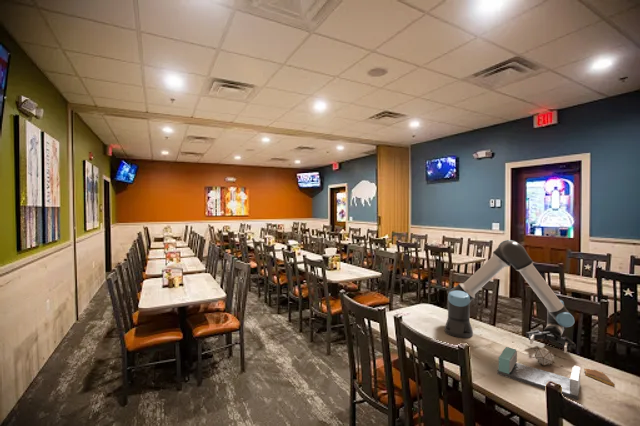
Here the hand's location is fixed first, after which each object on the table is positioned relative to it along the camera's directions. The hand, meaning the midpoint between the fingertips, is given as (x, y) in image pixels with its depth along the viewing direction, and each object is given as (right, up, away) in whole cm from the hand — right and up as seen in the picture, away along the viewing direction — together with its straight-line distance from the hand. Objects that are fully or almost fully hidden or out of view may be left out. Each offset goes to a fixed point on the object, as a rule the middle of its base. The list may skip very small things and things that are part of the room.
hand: (547, 345), depth 152 cm
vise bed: (-18, -6, -19) cm, 27 cm away
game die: (-7, -6, -7) cm, 11 cm away
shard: (+10, -7, -18) cm, 22 cm away
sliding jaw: (-26, -5, -12) cm, 29 cm away
